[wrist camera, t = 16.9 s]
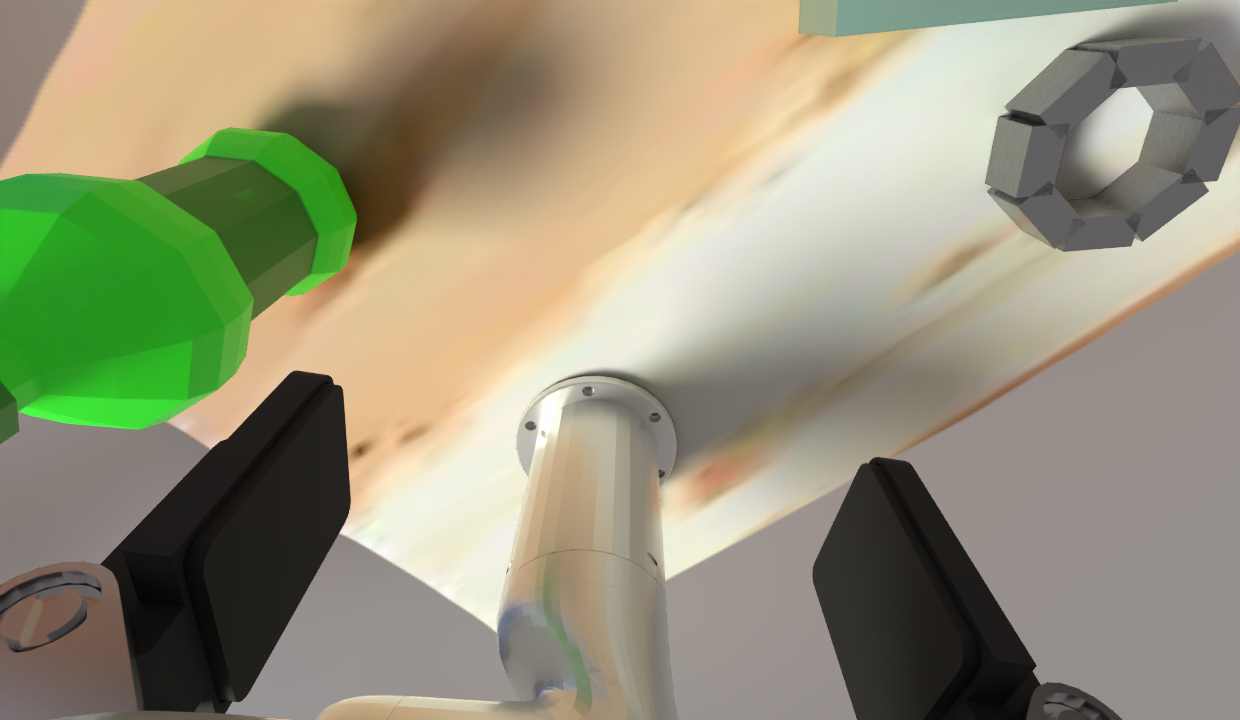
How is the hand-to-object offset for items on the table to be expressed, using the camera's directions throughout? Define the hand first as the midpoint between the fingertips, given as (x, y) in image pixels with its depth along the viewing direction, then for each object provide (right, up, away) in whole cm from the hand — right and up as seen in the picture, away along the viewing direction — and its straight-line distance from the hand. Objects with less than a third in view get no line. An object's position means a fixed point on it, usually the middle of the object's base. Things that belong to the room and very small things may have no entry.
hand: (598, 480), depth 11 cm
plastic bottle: (-20, +13, +28) cm, 37 cm away
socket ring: (+29, +15, +26) cm, 41 cm away
